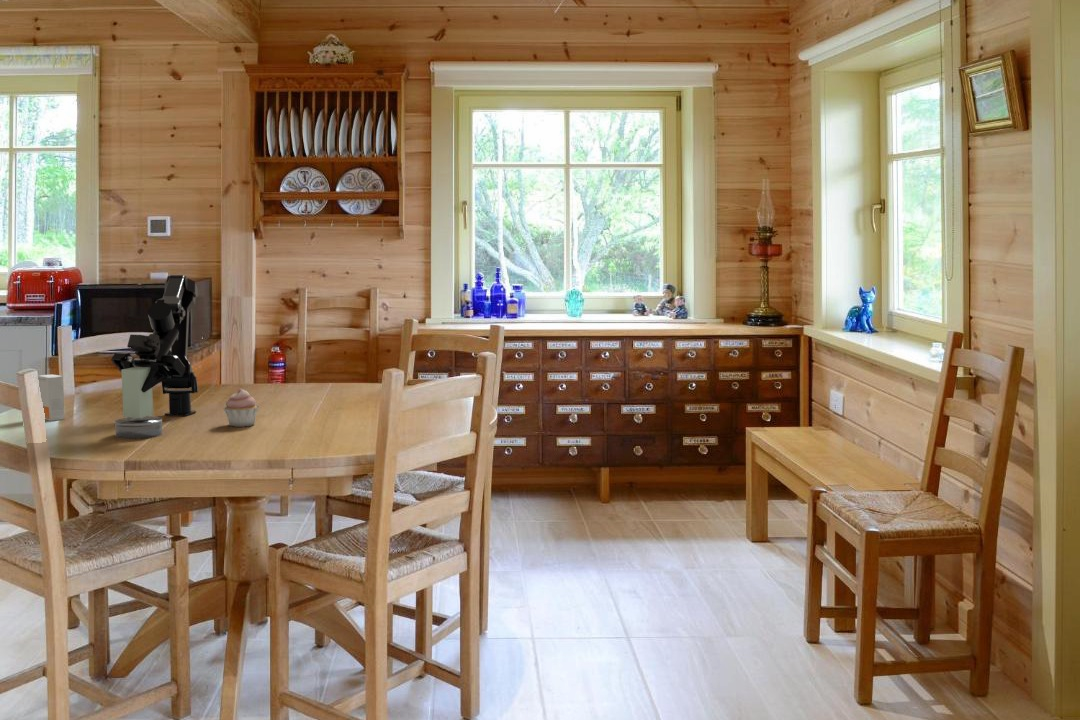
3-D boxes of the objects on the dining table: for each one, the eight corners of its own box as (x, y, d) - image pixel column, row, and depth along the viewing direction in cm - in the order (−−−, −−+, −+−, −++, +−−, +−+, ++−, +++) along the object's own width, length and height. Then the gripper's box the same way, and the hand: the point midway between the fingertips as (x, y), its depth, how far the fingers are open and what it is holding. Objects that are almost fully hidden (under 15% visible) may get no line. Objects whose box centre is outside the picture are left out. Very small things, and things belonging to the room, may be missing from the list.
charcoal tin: (130, 430, 261) (130, 415, 261) (171, 432, 260) (170, 417, 259) (105, 439, 250) (105, 423, 250) (147, 440, 249) (147, 424, 248)
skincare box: (39, 418, 276) (37, 375, 275) (54, 416, 280) (52, 373, 278) (50, 421, 273) (48, 377, 271) (65, 419, 276) (63, 375, 275)
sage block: (136, 413, 258) (134, 367, 256) (153, 414, 256) (151, 368, 255) (123, 417, 253) (121, 369, 251) (140, 418, 251) (138, 370, 250)
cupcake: (221, 423, 272) (220, 386, 271) (256, 421, 276) (256, 384, 275) (225, 429, 264) (224, 391, 263) (262, 427, 267) (261, 389, 266)
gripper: (114, 321, 258) (85, 369, 249) (176, 323, 253) (149, 373, 244) (136, 348, 267) (109, 396, 257) (197, 351, 261) (171, 400, 252)
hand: (133, 390), depth 252 cm, fingers closed on sage block, 5 cm apart
